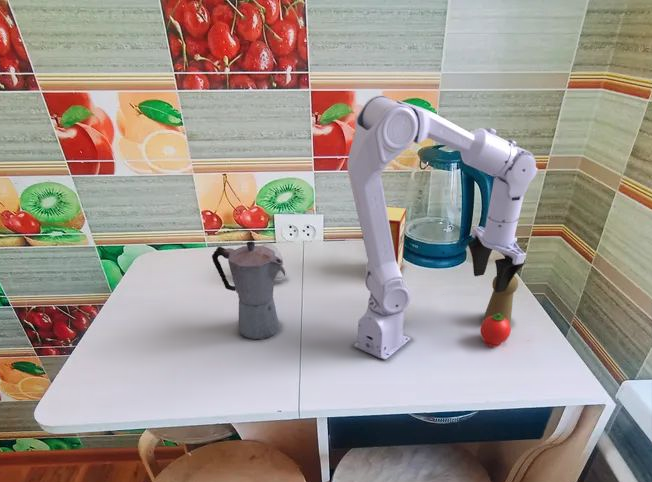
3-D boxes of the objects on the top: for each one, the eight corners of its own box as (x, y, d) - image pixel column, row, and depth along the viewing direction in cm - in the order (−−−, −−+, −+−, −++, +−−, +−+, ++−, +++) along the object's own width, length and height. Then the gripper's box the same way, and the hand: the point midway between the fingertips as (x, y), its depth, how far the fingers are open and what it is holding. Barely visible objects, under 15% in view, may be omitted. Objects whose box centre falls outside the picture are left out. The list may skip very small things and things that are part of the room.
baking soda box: (378, 263, 127) (380, 204, 117) (402, 266, 126) (406, 206, 115) (371, 279, 120) (372, 217, 110) (396, 282, 119) (399, 219, 108)
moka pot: (284, 345, 97) (273, 254, 84) (215, 337, 99) (195, 248, 87) (297, 321, 104) (289, 234, 91) (232, 314, 107) (216, 229, 94)
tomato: (500, 353, 94) (507, 325, 90) (473, 343, 97) (478, 315, 93) (511, 340, 98) (519, 312, 94) (485, 330, 101) (491, 303, 97)
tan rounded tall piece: (508, 315, 106) (519, 270, 99) (512, 329, 101) (524, 283, 94) (481, 313, 106) (490, 269, 99) (484, 327, 102) (494, 282, 95)
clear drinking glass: (242, 278, 120) (238, 250, 115) (263, 266, 126) (260, 239, 121) (273, 289, 116) (270, 261, 111) (294, 277, 121) (292, 249, 116)
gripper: (545, 227, 83) (527, 295, 92) (497, 202, 94) (485, 265, 102) (513, 233, 81) (497, 301, 90) (467, 207, 92) (457, 270, 100)
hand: (489, 282), depth 96 cm, fingers open, 7 cm apart
